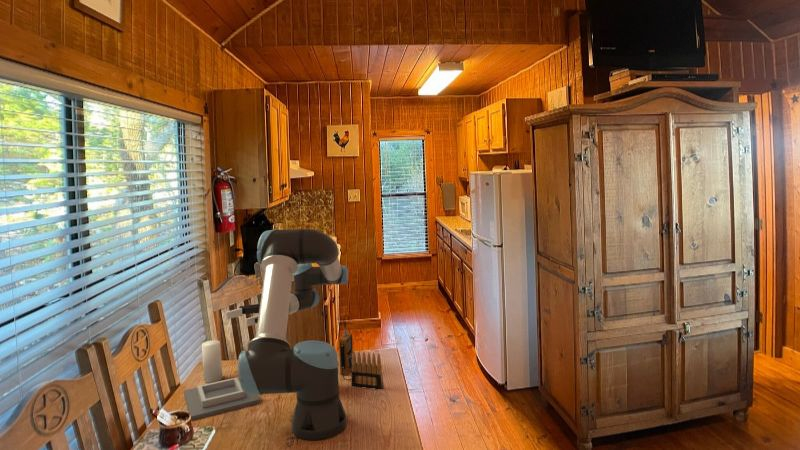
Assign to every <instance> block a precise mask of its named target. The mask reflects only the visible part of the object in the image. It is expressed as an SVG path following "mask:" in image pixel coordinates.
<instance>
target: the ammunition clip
mask: <svg viewBox="0 0 800 450" xmlns="http://www.w3.org/2000/svg"><path fill="white" fill-rule="evenodd" d="M356 355H357V356H356ZM376 357H377V358H376ZM382 369H383V368H382V358H381V354H380V352H378V353H377V356H376V353H375V352H373V353H372V357H371V353H370V352H367V355H366V353H365V351H363V352H362V355H361V352H360V351H359V350H358V351H357V354H356V352H355V350H353V354H352V370H351V387H353V386H355V388H361V387H366V388H365V389H369V388H375V389H374V390H378V389H382V388H383V389H384V377H383V371H382ZM383 389H382V390H383Z"/></svg>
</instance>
